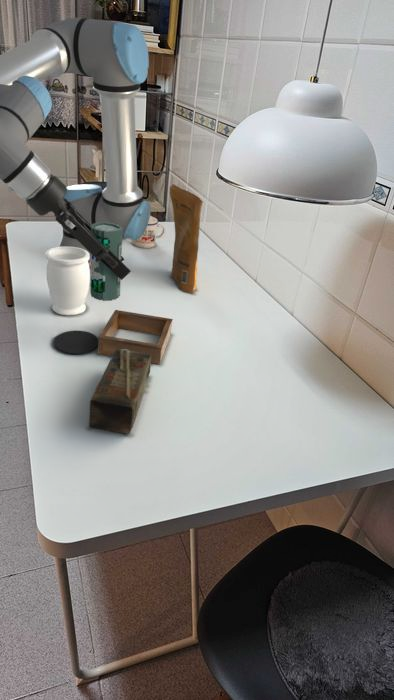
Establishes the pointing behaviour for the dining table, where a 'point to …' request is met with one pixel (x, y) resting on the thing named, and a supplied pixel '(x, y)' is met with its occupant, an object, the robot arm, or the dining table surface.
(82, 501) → the dining table surface
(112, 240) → the can
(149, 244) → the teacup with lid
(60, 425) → the dining table surface
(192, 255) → the pancake mix bag
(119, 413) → the beverage carton
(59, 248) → the jar
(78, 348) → the coaster
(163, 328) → the wooden square frame
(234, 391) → the dining table surface
